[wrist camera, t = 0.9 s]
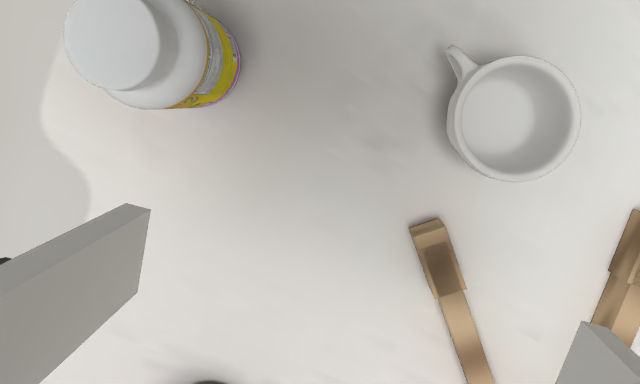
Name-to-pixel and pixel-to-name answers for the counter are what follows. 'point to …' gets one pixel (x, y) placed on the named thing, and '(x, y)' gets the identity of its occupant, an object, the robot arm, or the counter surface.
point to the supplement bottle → (152, 52)
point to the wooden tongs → (623, 286)
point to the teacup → (511, 116)
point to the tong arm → (451, 297)
